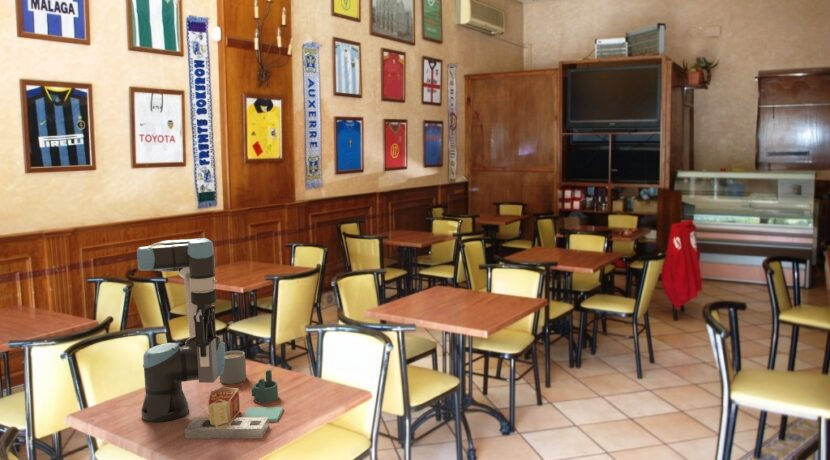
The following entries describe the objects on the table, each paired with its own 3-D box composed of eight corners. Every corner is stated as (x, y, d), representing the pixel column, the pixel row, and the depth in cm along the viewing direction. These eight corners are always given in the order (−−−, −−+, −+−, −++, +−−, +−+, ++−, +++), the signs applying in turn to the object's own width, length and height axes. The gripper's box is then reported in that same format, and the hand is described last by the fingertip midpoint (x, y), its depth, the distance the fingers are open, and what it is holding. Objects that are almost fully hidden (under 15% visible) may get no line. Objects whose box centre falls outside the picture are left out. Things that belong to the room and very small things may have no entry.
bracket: (271, 392, 254) (270, 368, 253) (282, 399, 247) (281, 375, 246) (248, 398, 249) (246, 374, 248) (258, 405, 241) (257, 380, 240)
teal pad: (240, 422, 227) (240, 419, 227) (248, 410, 237) (248, 407, 237) (277, 421, 227) (276, 418, 227) (283, 409, 237) (283, 407, 237)
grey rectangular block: (198, 382, 215) (196, 342, 213) (203, 377, 220) (201, 337, 218) (213, 382, 215) (211, 341, 213) (217, 377, 219) (215, 337, 218)
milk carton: (240, 411, 236) (232, 432, 217) (212, 413, 235) (201, 435, 215) (238, 385, 236) (229, 403, 216) (210, 387, 235) (199, 406, 215)
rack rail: (185, 438, 215) (184, 429, 215) (194, 426, 224) (194, 417, 224) (261, 438, 215) (261, 428, 214) (268, 426, 224) (268, 416, 223)
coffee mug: (239, 384, 263) (237, 359, 261) (215, 383, 265) (213, 357, 263) (254, 372, 276) (253, 348, 274) (231, 371, 278) (229, 347, 276)
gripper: (206, 296, 205) (210, 372, 208) (223, 284, 222) (227, 354, 225) (181, 296, 205) (185, 373, 208) (200, 284, 222) (204, 354, 225)
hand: (207, 363), depth 217 cm, fingers closed on grey rectangular block, 4 cm apart
